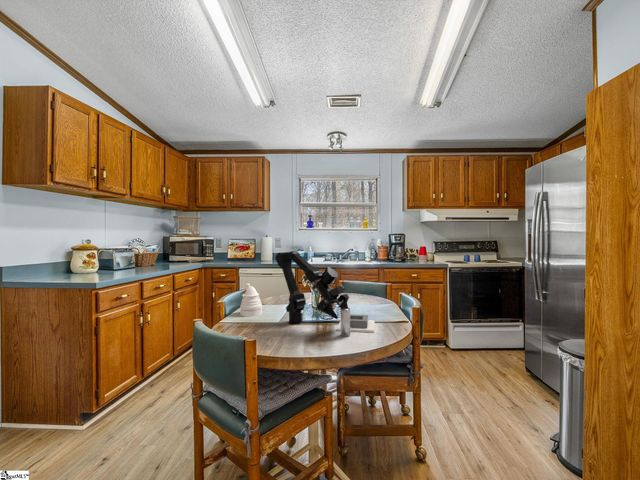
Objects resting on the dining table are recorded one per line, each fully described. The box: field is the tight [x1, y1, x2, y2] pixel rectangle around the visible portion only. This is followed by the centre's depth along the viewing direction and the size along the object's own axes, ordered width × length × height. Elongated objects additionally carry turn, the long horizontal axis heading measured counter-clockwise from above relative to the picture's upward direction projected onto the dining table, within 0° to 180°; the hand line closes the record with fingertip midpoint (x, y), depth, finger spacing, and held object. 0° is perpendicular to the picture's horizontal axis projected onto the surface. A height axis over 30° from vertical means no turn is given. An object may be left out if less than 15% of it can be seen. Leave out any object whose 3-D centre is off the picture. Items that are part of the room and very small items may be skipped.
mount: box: [336, 313, 376, 333], centre depth 166 cm, size 18×18×4 cm
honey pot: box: [239, 283, 263, 318], centre depth 195 cm, size 13×13×18 cm
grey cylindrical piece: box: [339, 307, 351, 338], centre depth 152 cm, size 4×4×12 cm
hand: (343, 316), depth 153 cm, fingers open, 9 cm apart
